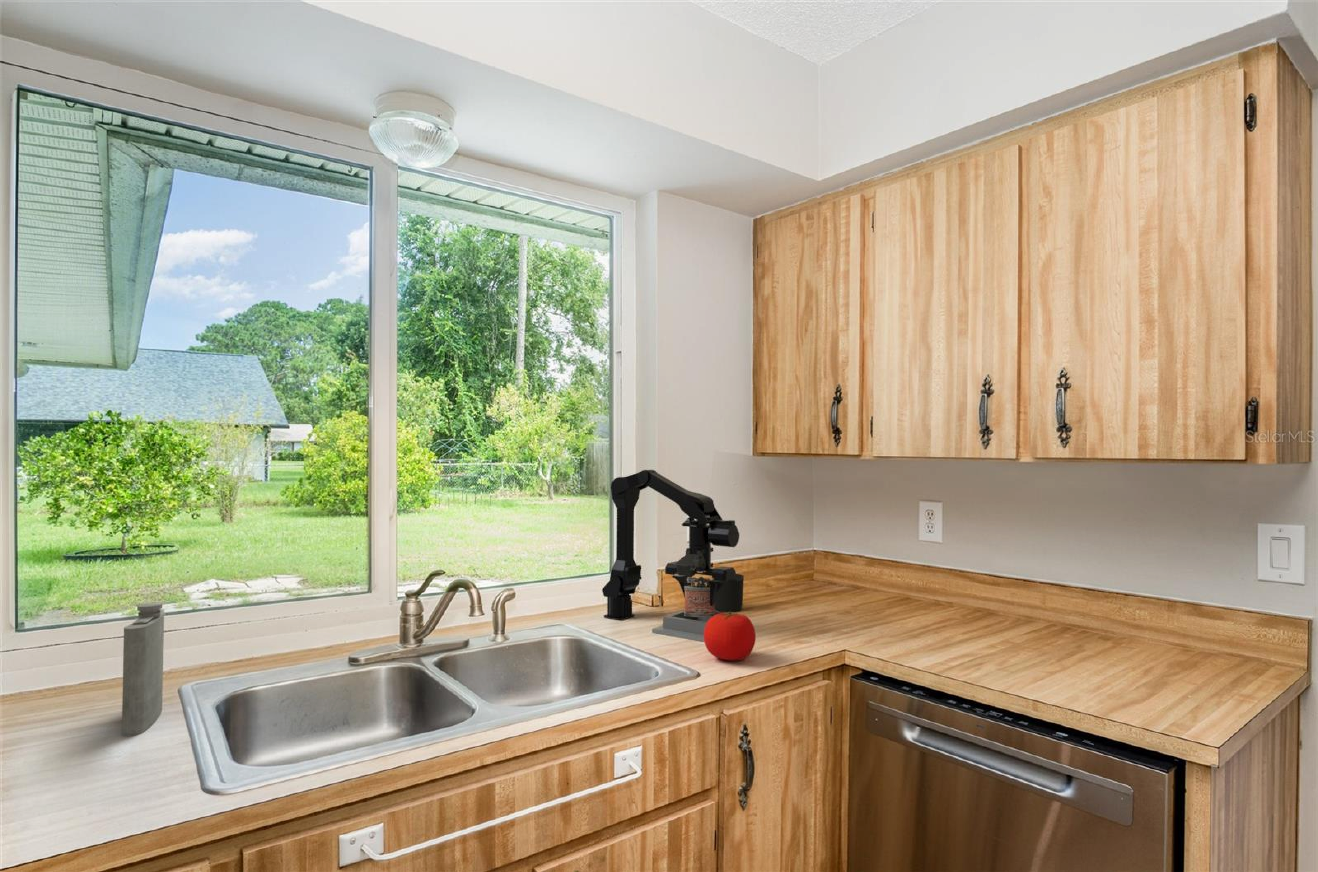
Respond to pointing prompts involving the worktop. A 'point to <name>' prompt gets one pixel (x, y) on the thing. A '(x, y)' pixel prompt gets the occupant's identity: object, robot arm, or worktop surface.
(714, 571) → the robot arm
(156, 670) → the hip flask
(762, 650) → the worktop surface
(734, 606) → the pen holder
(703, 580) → the lighter
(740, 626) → the tomato
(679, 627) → the stand
